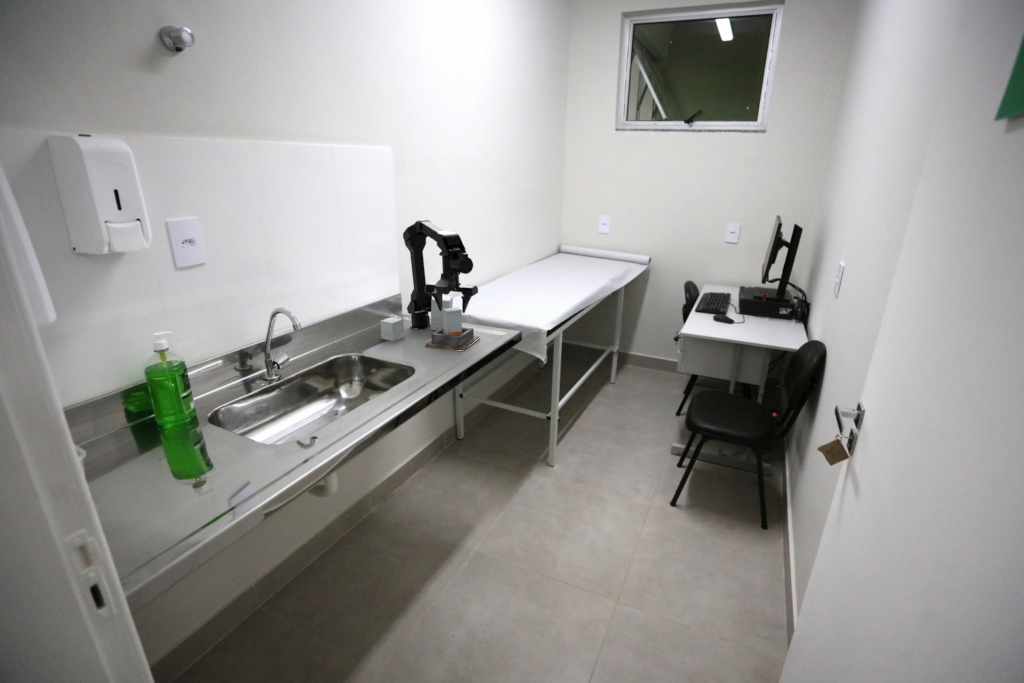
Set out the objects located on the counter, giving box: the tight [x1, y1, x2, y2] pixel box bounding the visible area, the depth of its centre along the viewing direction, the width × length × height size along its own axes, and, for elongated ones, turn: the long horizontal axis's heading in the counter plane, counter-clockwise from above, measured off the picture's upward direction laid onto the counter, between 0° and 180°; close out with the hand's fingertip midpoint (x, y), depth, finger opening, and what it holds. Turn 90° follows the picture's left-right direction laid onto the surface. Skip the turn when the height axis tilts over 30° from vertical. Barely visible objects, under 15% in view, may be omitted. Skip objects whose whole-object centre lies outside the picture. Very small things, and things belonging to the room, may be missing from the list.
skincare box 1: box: [380, 317, 405, 342], centre depth 192 cm, size 6×6×7 cm
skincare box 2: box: [443, 306, 463, 336], centre depth 186 cm, size 6×4×12 cm
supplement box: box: [430, 295, 454, 331], centre depth 202 cm, size 7×7×13 cm
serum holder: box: [424, 326, 480, 352], centre depth 188 cm, size 15×15×4 cm
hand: (452, 311), depth 184 cm, fingers open, 9 cm apart
